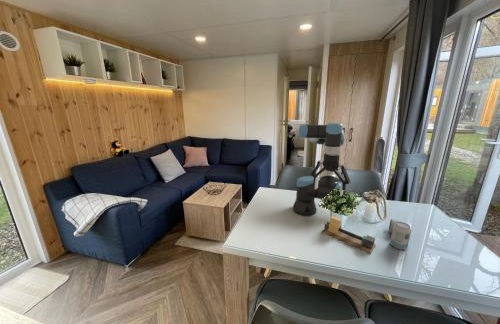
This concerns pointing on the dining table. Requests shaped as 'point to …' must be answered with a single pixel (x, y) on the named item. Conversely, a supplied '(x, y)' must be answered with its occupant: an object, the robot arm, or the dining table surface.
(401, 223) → the beverage can
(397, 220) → the ceramic mug
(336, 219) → the sleeve
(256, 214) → the dining table surface
